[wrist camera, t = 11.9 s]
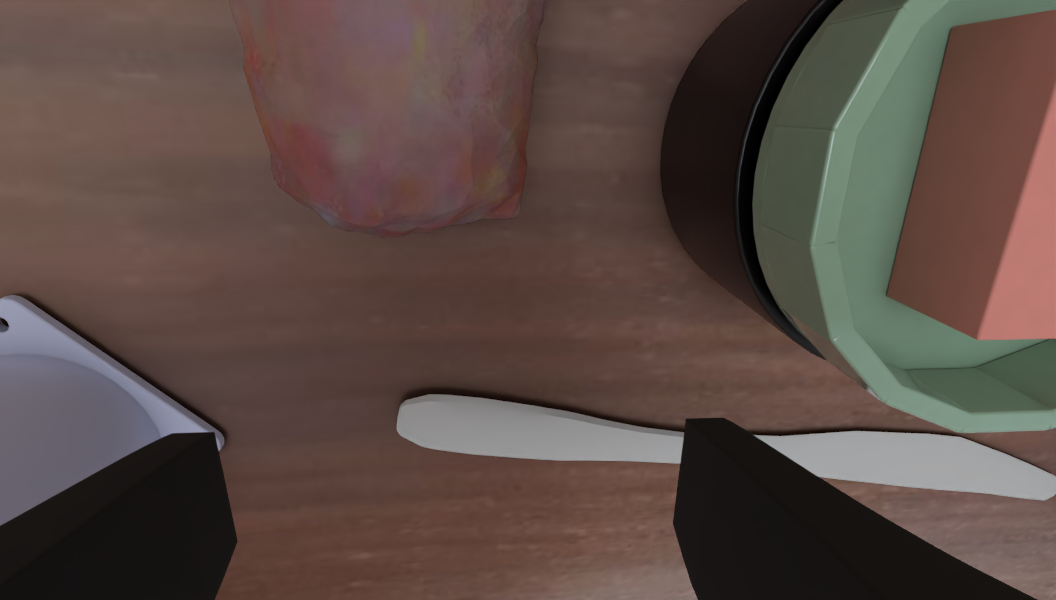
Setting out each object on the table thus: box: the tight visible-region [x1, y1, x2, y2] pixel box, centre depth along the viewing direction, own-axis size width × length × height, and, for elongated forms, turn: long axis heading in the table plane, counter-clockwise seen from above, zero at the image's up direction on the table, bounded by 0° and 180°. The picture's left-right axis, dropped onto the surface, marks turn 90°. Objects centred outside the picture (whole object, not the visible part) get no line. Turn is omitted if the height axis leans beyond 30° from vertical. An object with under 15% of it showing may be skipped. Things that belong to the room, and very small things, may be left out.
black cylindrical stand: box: [661, 0, 843, 361], centre depth 15 cm, size 10×10×6 cm
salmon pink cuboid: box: [887, 10, 1056, 340], centre depth 10 cm, size 6×4×2 cm, turn 179°
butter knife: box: [397, 394, 1056, 500], centre depth 21 cm, size 1×27×3 cm
